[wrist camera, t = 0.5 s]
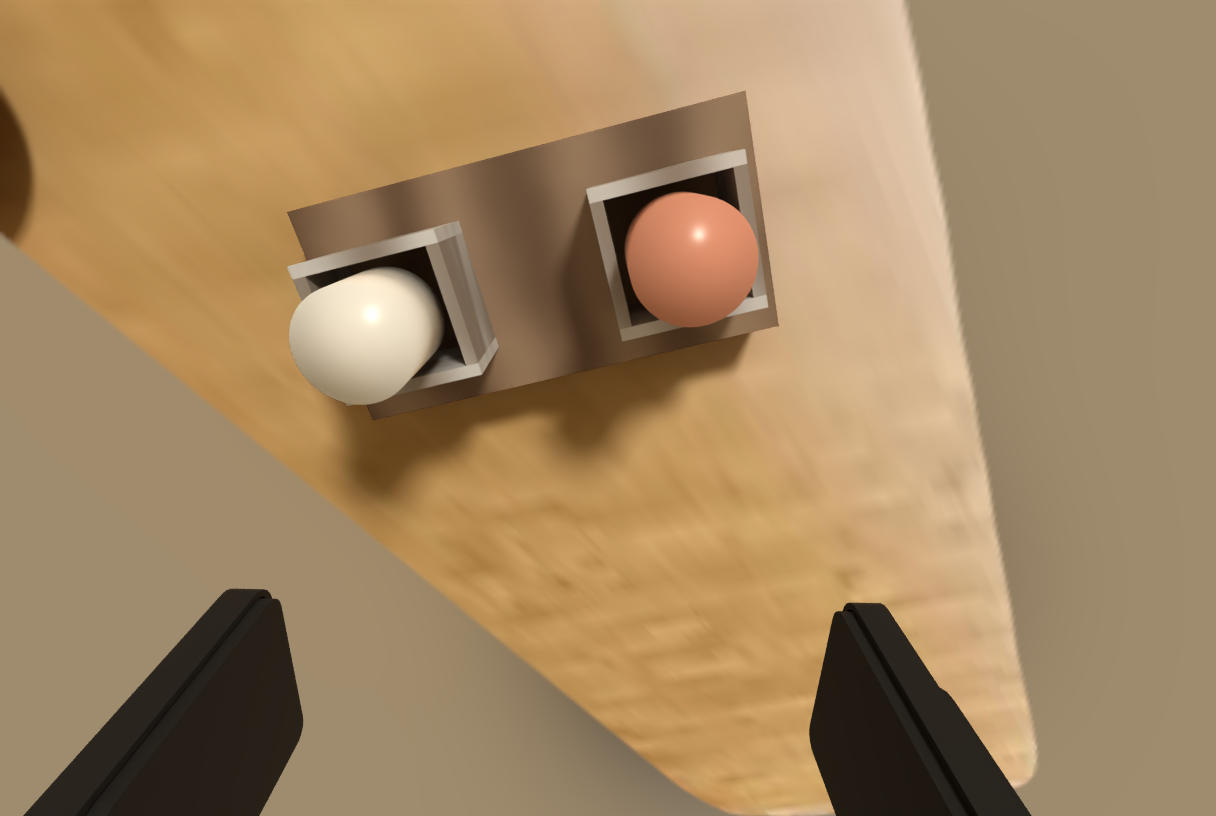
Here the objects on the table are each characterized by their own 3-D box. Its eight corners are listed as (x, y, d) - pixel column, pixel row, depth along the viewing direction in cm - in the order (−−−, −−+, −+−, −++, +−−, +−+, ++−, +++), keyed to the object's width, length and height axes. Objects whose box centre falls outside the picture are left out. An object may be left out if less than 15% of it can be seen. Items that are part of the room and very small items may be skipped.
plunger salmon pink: (637, 313, 29) (643, 340, 24) (613, 206, 27) (615, 213, 23) (740, 288, 29) (767, 311, 24) (722, 178, 27) (747, 180, 22)
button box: (394, 396, 39) (338, 457, 31) (320, 208, 35) (231, 218, 27) (761, 310, 37) (806, 350, 29) (729, 100, 33) (772, 75, 25)
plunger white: (363, 378, 30) (319, 416, 25) (323, 280, 28) (267, 301, 24) (459, 356, 30) (432, 389, 25) (424, 255, 28) (388, 271, 23)
